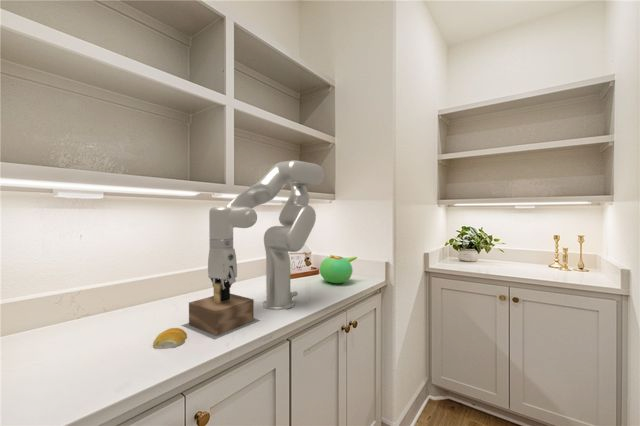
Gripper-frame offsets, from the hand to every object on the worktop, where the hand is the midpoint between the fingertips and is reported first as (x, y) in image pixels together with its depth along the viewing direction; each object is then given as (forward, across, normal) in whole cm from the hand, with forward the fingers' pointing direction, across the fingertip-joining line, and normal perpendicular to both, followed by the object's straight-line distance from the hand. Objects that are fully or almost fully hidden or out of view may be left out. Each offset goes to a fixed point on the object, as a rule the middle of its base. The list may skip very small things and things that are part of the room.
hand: (221, 298), depth 97 cm
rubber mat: (+9, 0, 0) cm, 9 cm away
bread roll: (+9, 0, +17) cm, 19 cm away
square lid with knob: (+8, 0, 0) cm, 8 cm away
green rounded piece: (+9, -1, -70) cm, 71 cm away
